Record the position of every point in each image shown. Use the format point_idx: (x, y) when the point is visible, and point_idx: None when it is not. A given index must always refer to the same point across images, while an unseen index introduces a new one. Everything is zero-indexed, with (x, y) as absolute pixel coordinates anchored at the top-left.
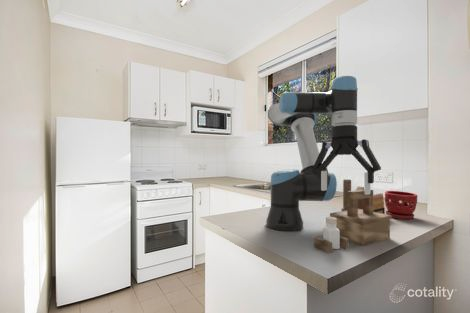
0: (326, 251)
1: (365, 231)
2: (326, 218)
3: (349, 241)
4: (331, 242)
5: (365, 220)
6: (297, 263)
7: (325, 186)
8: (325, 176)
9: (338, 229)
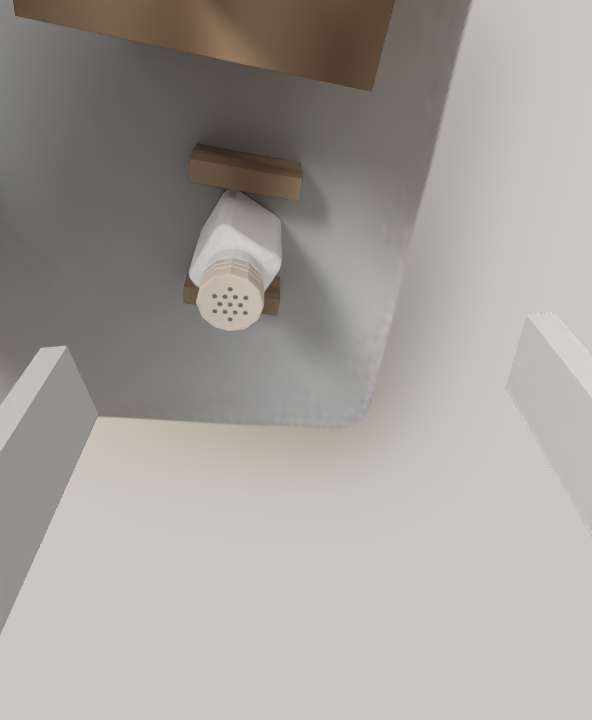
0: None
1: None
2: (213, 325)
3: None
4: (276, 300)
5: (379, 31)
6: (258, 424)
7: (65, 407)
8: (6, 514)
9: (273, 260)
